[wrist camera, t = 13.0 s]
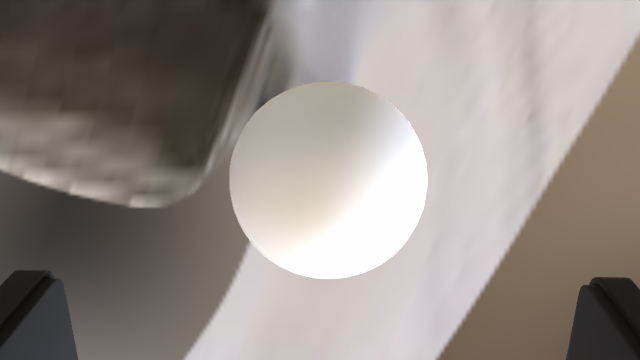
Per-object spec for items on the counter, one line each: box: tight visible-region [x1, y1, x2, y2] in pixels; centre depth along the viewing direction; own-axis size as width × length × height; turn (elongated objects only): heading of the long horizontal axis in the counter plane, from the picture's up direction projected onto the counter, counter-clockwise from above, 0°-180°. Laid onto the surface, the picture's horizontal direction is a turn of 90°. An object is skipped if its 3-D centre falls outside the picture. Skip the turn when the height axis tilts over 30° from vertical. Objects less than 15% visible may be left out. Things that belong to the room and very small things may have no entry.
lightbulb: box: [229, 81, 428, 279], centre depth 21 cm, size 6×6×11 cm
